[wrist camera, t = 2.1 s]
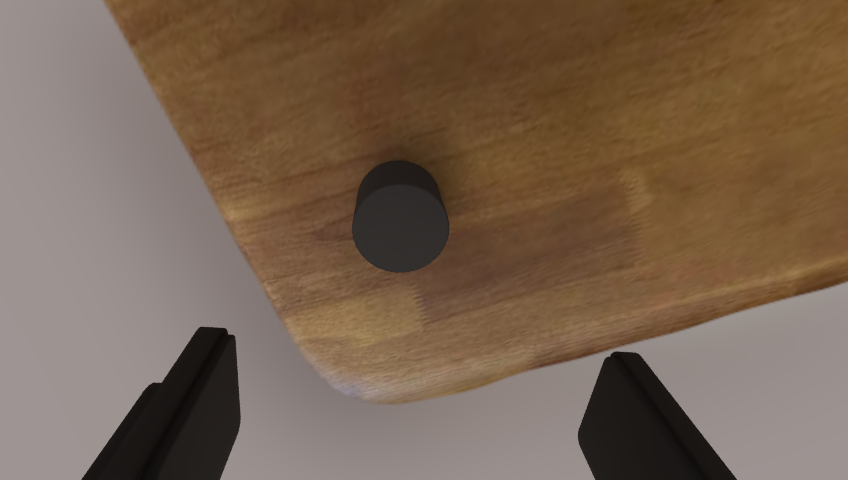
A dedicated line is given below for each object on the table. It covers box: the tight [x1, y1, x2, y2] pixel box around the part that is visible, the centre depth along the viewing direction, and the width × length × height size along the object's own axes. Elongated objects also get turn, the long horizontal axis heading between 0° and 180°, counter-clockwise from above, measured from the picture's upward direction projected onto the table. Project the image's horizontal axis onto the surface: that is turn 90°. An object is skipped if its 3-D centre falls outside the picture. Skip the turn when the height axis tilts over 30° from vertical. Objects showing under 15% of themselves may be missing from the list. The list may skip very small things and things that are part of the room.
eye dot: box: [352, 161, 449, 273], centre depth 22 cm, size 4×4×4 cm
